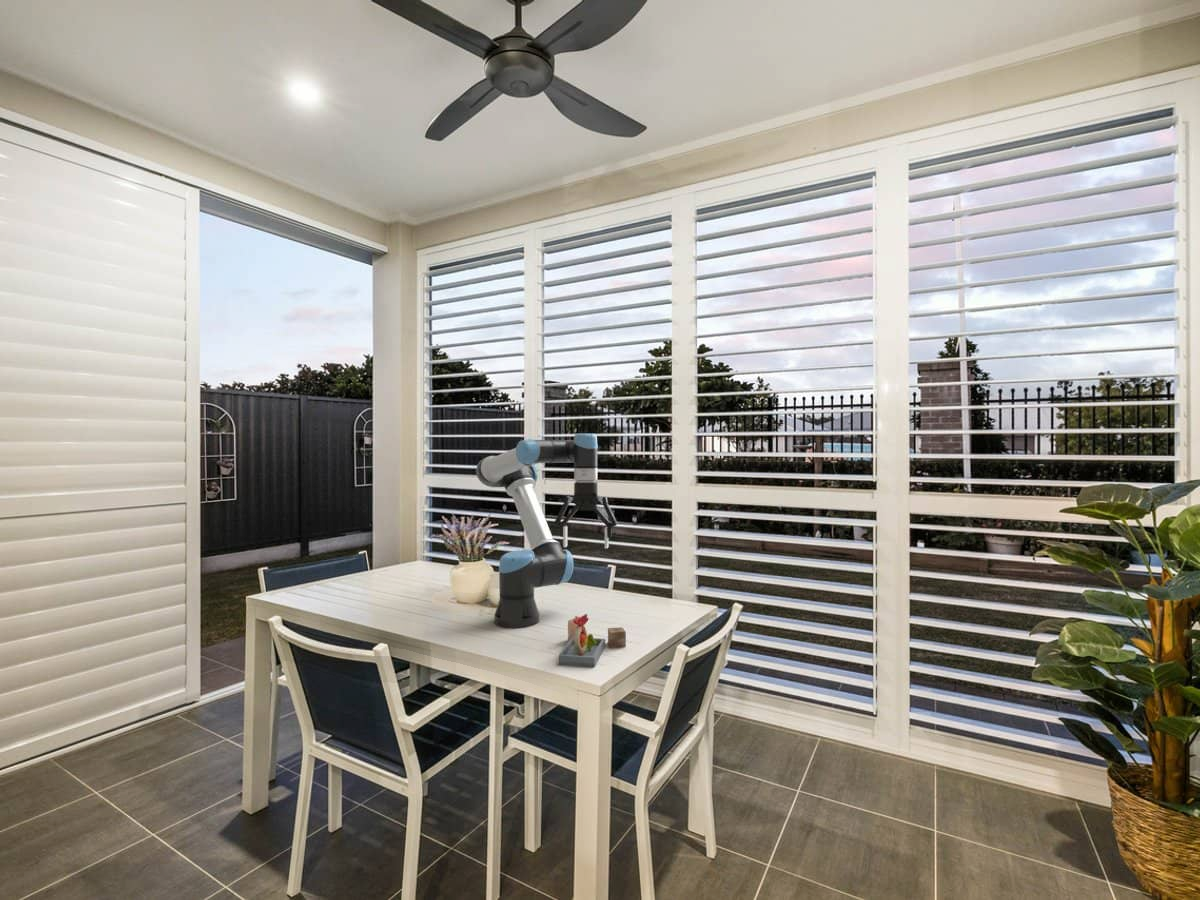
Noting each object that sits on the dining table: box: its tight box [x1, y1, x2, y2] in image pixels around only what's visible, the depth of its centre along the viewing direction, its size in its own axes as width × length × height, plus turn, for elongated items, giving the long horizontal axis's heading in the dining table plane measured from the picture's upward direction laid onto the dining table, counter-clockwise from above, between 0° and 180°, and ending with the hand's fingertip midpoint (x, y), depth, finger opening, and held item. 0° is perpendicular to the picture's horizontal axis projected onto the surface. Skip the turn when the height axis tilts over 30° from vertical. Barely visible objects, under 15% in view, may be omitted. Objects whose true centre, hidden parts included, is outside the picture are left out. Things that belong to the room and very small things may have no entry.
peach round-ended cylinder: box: [567, 618, 581, 643], centre depth 181 cm, size 4×4×6 cm
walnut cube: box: [607, 626, 627, 648], centre depth 177 cm, size 4×4×4 cm
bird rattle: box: [572, 613, 597, 656], centre depth 168 cm, size 6×11×9 cm
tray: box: [558, 637, 606, 668], centre depth 168 cm, size 10×16×2 cm, turn 169°
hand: (585, 547), depth 191 cm, fingers open, 13 cm apart
